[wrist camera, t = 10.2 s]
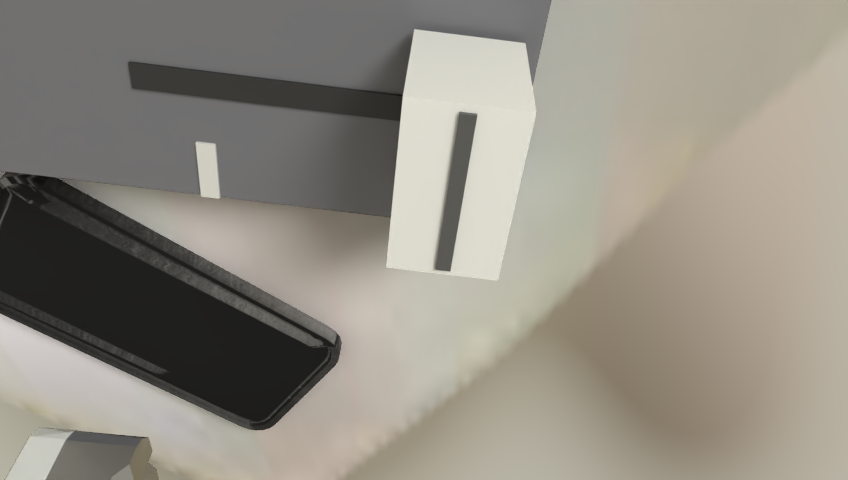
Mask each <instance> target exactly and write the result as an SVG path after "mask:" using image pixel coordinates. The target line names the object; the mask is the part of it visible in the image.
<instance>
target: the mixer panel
mask: <svg viewBox="0 0 848 480" xmlns="http://www.w3.org/2000/svg"><path fill="white" fill-rule="evenodd" d="M550 4H551V0H0V171H6V172H15V173H23V174H31V175H40V176H48V177H56V178H65V179H73V180H82V181H90V182H98V183H107V184H115V185H123V186H132V187H140V188H149V189H157V190H165V191H174V192H182V193H190V194H199V195H201V197H209V198H217V199H220V197H224V198H232V199H241V200H249V201H258V202H266V203H274V204H283V205H291V206H299V207H308V208H316V209H325V210H333V211H341V212H350V213H358V214H366V215H375V216H383V217H391V211H392V201H393V191H394V181H395V170H396V160H397V150H398V140H399V130H400V119H401V109H402V99H403V92H404V86H405V80H406V75H407V69H408V63H409V57H410V52H411V46H412V40H413V34H414V29H417V30H425V31H433V32H441V33H449V34H457V35H465V36H473V37H481V38H489V39H497V40H505V41H512V42H520V43H526V49H527V56H528V62H529V69H530V75H531V81H532V86H533V81H534V77H535V72H536V67H537V63H538V58H539V54H540V49H541V45H542V40H543V36H544V31H545V27H546V22H547V18H548V13H549V9H550Z"/></svg>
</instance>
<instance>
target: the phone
mask: <svg viewBox="0 0 848 480" xmlns="http://www.w3.org/2000/svg"><path fill="white" fill-rule="evenodd" d="M0 313H1V314H3V315H5V316H7V317H9V318H11V319H13V320H16V321H18V322H20V323H22V324H24V325H26V326H28V327H30V328H33V329H35V330H37V331H39V332H41V333H43V334H45V335H48V336H50V337H52V338H54V339H56V340H58V341H60V342H63V343H65V344H67V345H69V346H71V347H73V348H75V349H77V350H80V351H82V352H84V353H86V354H88V355H90V356H92V357H94V358H97V359H99V360H101V361H103V362H105V363H107V364H109V365H112V366H114V367H116V368H118V369H120V370H122V371H124V372H126V373H129V374H131V375H133V376H135V377H137V378H139V379H141V380H143V381H146V382H148V383H150V384H152V385H154V386H156V387H158V388H161V389H163V390H165V391H167V392H169V393H171V394H173V395H175V396H178V397H180V398H182V399H184V400H186V401H188V402H190V403H192V404H195V405H197V406H199V407H201V408H203V409H205V410H207V411H210V412H212V413H214V414H216V415H218V416H220V417H222V418H224V419H227V420H229V421H231V422H233V423H235V424H237V425H239V426H241V427H244V428H247V429H251V430H265V429H268V428H271V427H272V426H274V425H275V424H276V423H277V422H278V421H279V420H280V419H281V418H282V417H283V416H284V415H285V414H286V413H287V412H288V411H289V410H290V409H291V408H292V407H293V406H294V405H295V404H296V403H297V402H298V401H299V400H300V399H301V398H302V397H303V396H305V395H306V394H307V393H308V392H309V391H310V390H311V389H312V388H313V387H314V386H315V385H316V384H317V383H318V382H319V381H320V380H321V379H322V378H323V377H324V376H325V375H326V374H327V373H328V372H329V371H330V370H331V369H332V368H333V367H334V366H335V365H336V363H337V362H338V359H339V355H340V350H341V344H342V342H341V339H340V336H339V335H338V334H337V333H336V331H334V330H333V329H331V328H330V327H328V326H327V325H325V324H323V323H321V322H319V321H317V320H316V319H314V318H312V317H310V316H308V315H307V314H305V313H303V312H301V311H299V310H297V309H296V308H294V307H292V306H290V305H288V304H286V303H285V302H283V301H281V300H279V299H277V298H275V297H274V296H272V295H270V294H268V293H266V292H264V291H263V290H261V289H259V288H257V287H255V286H253V285H252V284H250V283H248V282H246V281H244V280H242V279H241V278H239V277H237V276H235V275H233V274H231V273H230V272H228V271H226V270H224V269H222V268H220V267H219V266H217V265H215V264H213V263H211V262H209V261H208V260H206V259H204V258H202V257H200V256H198V255H197V254H195V253H193V252H191V251H189V250H187V249H186V248H184V247H182V246H180V245H178V244H176V243H175V242H173V241H171V240H169V239H167V238H165V237H164V236H162V235H160V234H158V233H156V232H154V231H153V230H151V229H149V228H147V227H145V226H143V225H142V224H140V223H138V222H136V221H134V220H132V219H131V218H129V217H127V216H125V215H123V214H122V213H120V212H118V211H116V210H114V209H112V208H111V207H109V206H107V205H105V204H103V203H101V202H100V201H98V200H96V199H94V198H92V197H90V196H89V195H87V194H85V193H83V192H81V191H79V190H78V189H76V188H74V187H72V186H70V185H68V184H67V183H65V182H63V181H61V180H59V179H57V178H56V177H48V176H40V175H31V174H23V173H15V172H6V173H5V174H4V175H3V176H2V177H1V178H0Z"/></svg>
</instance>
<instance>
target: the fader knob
mask: <svg viewBox="0 0 848 480" xmlns="http://www.w3.org/2000/svg"><path fill="white" fill-rule="evenodd" d="M535 117H536V107H535V100H534V94H533V88H532V81H531V75H530V69H529V62H528V56H527V49H526V43H520V42H512V41H505V40H497V39H489V38H481V37H473V36H465V35H457V34H449V33H441V32H433V31H425V30H417V29H414V34H413V40H412V46H411V52H410V57H409V63H408V69H407V75H406V80H405V86H404V92H403V99H402V109H401V119H400V130H399V140H398V150H397V160H396V170H395V181H394V191H393V201H392V211H391V221H390V232H389V242H388V252H387V262H386V267H387V268H395V269H404V270H412V271H421V272H429V273H438V274H446V275H455V276H463V277H472V278H480V279H489V280H497V281H498V278H499V273H500V269H501V265H502V260H503V256H504V252H505V247H506V243H507V239H508V234H509V230H510V226H511V221H512V217H513V213H514V208H515V204H516V200H517V195H518V191H519V186H520V182H521V178H522V173H523V169H524V165H525V160H526V156H527V152H528V147H529V143H530V139H531V134H532V130H533V126H534V121H535Z"/></svg>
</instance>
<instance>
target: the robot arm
mask: <svg viewBox="0 0 848 480" xmlns="http://www.w3.org/2000/svg"><path fill="white" fill-rule="evenodd" d="M151 453H152V448H151V445H150V441H149V438H147V437H136V436H126V435H115V434H104V433H93V432H82V431H77V430H66V429H53V428H41V427H39V428H38V429H37V430H36V431H35V432H34V433H33V434H32V435H31V436H30V437H29V438H28V439H27V441H26V443H25V445H24V447H23V448H22V450H21V452H20V453H19V455H18V457H17V459H16V460H15V462H14V464H13V466H12V468H11V469H10V471H9V473H8V475H7V476H6V478H5V480H158V474H157V469H156V468H155V467H153V466H152V465H151V464H150V463H148V461H149V458H150V456H151Z"/></svg>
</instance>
